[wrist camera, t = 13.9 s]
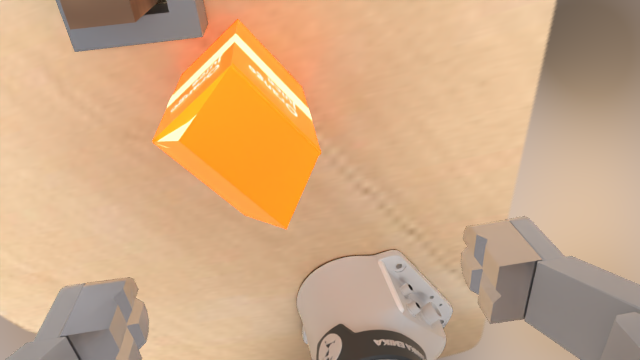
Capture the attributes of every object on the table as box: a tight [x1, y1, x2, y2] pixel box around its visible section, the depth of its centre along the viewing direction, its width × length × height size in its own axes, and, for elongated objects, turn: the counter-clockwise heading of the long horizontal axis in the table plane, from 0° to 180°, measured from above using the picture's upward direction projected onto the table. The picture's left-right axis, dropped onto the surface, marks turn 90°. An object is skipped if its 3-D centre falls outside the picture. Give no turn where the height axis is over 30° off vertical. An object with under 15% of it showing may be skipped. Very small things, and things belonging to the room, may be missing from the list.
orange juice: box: [152, 19, 321, 229], centre depth 34 cm, size 8×9×20 cm
